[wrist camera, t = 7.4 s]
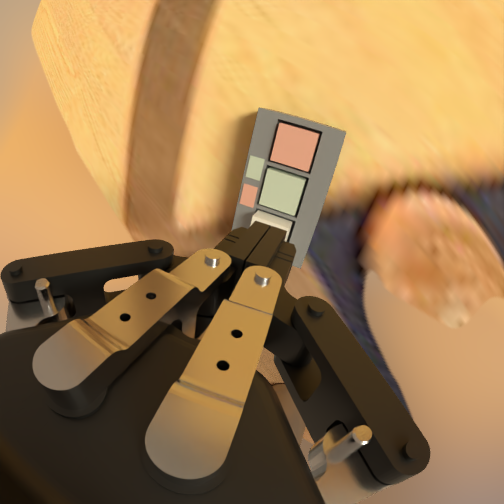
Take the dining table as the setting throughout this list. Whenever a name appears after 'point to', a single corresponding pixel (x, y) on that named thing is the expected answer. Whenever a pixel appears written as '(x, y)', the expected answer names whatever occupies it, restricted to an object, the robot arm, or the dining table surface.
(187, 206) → the dining table surface
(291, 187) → the key sage
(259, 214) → the key ivory
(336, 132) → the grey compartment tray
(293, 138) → the key coral
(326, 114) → the dining table surface
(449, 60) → the dining table surface
